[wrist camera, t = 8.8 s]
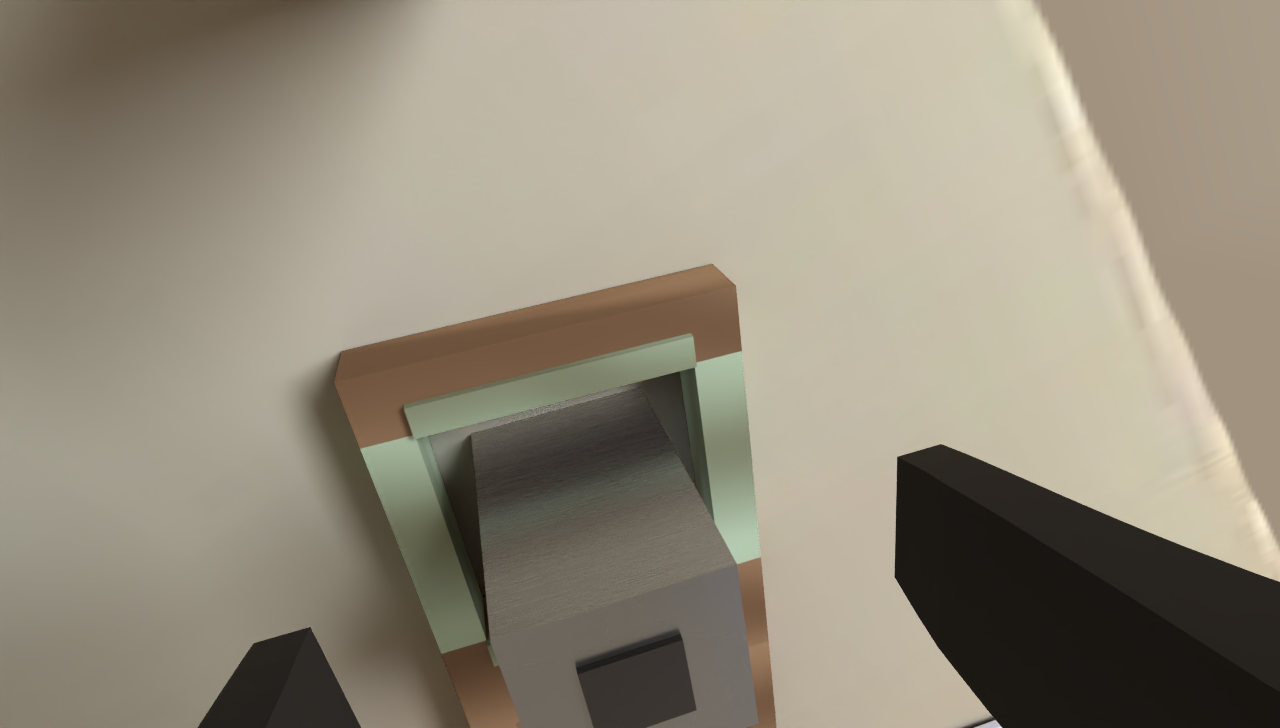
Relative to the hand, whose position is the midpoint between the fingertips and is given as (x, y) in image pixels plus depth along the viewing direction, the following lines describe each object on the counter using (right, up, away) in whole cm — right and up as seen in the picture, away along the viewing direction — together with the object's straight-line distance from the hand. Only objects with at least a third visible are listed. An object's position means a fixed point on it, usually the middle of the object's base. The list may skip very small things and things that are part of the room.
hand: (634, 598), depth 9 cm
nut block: (-2, 0, +11) cm, 11 cm away
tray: (-1, -4, +13) cm, 14 cm away
